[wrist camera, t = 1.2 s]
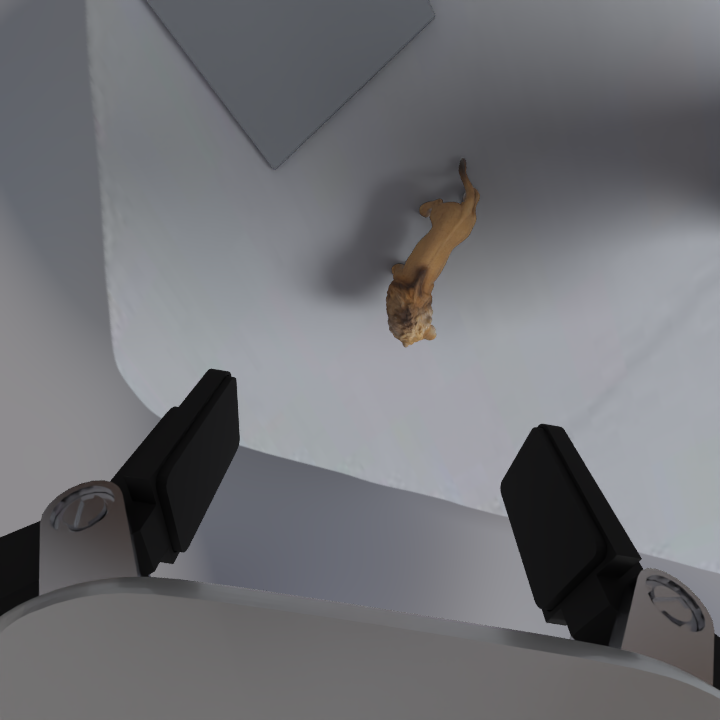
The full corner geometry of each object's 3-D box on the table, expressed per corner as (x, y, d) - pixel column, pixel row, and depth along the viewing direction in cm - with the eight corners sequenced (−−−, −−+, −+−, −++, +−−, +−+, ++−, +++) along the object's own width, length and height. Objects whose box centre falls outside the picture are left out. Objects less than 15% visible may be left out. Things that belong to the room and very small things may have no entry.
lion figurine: (424, 317, 37) (433, 362, 30) (377, 302, 37) (374, 344, 29) (489, 167, 29) (523, 176, 22) (430, 147, 29) (444, 148, 21)
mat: (306, -258, 19) (303, -268, 19) (434, 17, 25) (435, 15, 24) (142, -8, 25) (137, -11, 25) (275, 169, 31) (273, 169, 30)
